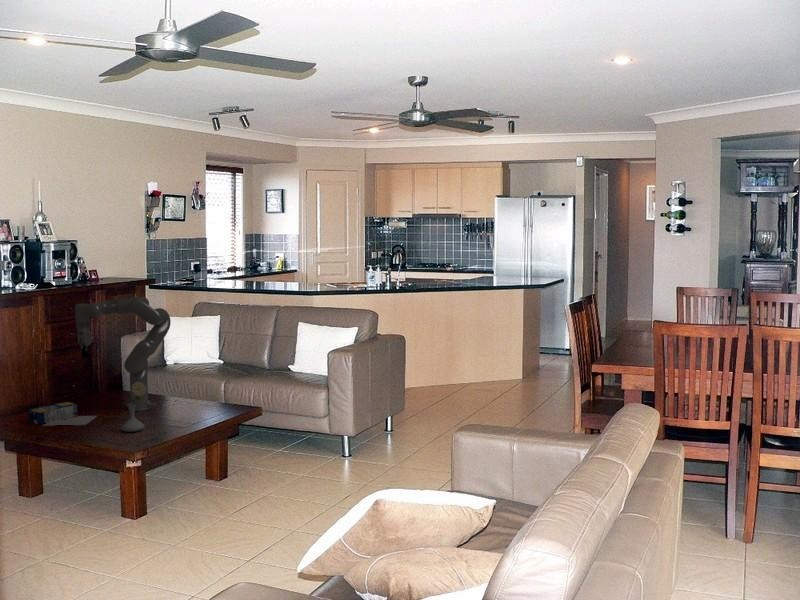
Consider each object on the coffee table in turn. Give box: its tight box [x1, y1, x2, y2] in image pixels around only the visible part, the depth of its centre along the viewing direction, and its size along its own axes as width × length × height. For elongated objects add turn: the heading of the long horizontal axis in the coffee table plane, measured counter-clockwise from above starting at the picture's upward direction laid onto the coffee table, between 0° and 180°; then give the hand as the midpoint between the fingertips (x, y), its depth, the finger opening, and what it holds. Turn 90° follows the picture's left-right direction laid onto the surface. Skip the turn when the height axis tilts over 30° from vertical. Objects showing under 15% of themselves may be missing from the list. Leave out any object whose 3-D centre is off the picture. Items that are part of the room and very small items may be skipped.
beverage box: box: [27, 401, 79, 425], centre depth 452 cm, size 7×11×22 cm
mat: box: [41, 415, 98, 427], centre depth 449 cm, size 22×20×1 cm
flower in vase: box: [120, 382, 146, 433], centre depth 426 cm, size 13×11×25 cm
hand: (85, 357), depth 473 cm, fingers closed
